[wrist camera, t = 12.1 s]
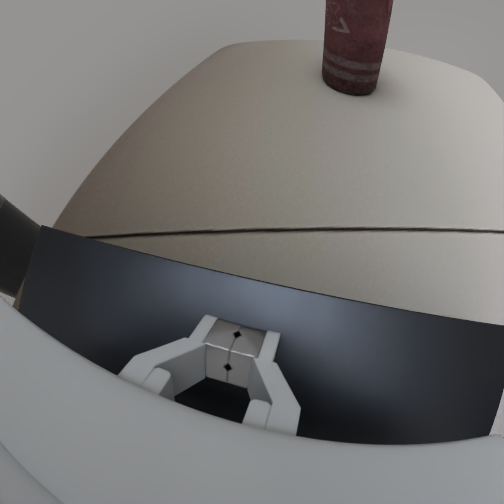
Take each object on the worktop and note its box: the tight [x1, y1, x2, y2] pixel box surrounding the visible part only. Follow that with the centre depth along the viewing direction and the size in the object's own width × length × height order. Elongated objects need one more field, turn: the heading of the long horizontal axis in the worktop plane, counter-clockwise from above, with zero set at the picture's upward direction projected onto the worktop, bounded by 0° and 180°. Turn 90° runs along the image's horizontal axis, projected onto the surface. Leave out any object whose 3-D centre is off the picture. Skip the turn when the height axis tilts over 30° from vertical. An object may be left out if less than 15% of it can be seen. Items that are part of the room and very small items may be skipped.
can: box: [322, 0, 393, 95], centre depth 17 cm, size 6×6×14 cm
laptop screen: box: [18, 225, 504, 445], centre depth 9 cm, size 21×30×1 cm
